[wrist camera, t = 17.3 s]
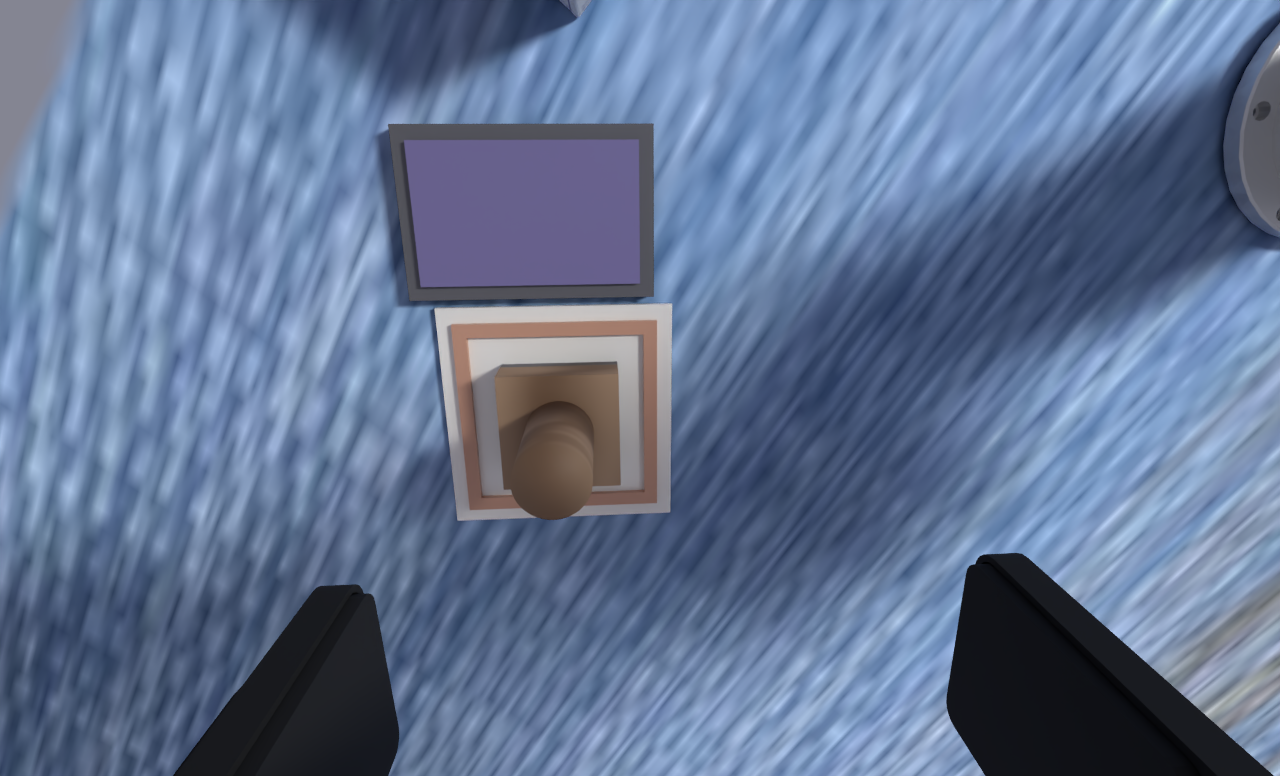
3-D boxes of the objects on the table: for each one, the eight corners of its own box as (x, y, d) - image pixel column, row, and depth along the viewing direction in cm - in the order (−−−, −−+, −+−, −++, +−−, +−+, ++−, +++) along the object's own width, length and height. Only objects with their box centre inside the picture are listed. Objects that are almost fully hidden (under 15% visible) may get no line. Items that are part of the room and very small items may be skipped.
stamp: (617, 361, 32) (622, 412, 25) (619, 465, 34) (625, 543, 26) (501, 364, 32) (471, 417, 24) (510, 469, 34) (484, 549, 26)
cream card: (671, 302, 32) (672, 305, 31) (669, 509, 35) (670, 515, 35) (435, 307, 31) (433, 309, 31) (458, 518, 35) (456, 523, 34)
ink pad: (651, 125, 29) (653, 122, 28) (652, 293, 32) (654, 297, 31) (394, 126, 29) (385, 123, 27) (414, 298, 31) (407, 301, 30)
